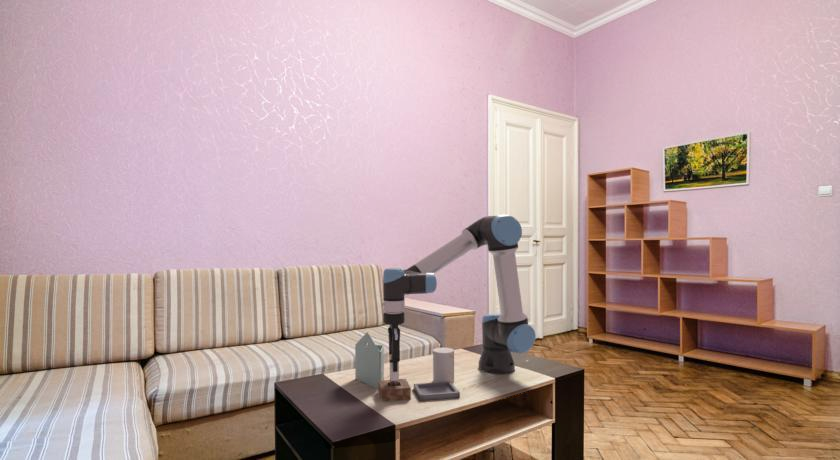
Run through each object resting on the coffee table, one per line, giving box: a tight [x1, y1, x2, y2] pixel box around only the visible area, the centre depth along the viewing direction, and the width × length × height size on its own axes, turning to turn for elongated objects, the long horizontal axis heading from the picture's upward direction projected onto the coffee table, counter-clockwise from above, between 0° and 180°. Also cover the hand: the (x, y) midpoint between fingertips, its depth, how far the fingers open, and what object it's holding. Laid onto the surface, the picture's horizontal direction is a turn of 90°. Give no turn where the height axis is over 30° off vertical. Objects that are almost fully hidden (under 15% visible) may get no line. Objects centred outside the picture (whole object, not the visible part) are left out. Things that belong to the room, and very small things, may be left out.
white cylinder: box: [432, 347, 455, 384], centre depth 171 cm, size 8×8×12 cm
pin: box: [389, 354, 399, 386], centre depth 156 cm, size 3×3×14 cm
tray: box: [413, 381, 461, 402], centre depth 158 cm, size 14×12×2 cm
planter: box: [354, 331, 385, 390], centre depth 171 cm, size 16×8×20 cm, turn 41°
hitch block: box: [377, 378, 412, 403], centre depth 156 cm, size 10×10×4 cm
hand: (394, 378), depth 156 cm, fingers closed on pin, 3 cm apart
